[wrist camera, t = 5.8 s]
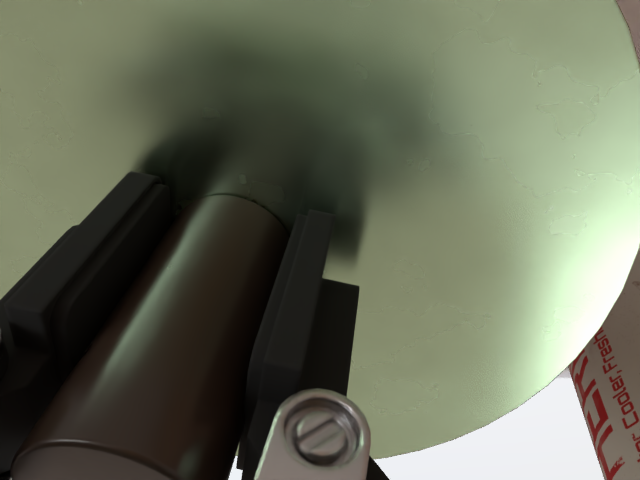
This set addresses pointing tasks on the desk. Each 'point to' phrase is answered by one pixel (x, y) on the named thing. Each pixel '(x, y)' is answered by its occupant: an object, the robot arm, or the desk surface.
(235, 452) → the lid
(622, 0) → the desk surface
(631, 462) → the thermos bottle
